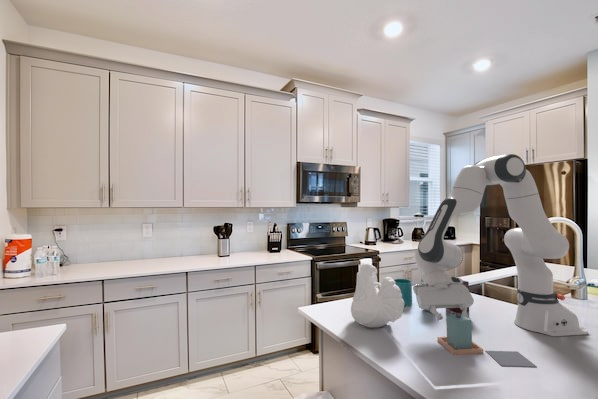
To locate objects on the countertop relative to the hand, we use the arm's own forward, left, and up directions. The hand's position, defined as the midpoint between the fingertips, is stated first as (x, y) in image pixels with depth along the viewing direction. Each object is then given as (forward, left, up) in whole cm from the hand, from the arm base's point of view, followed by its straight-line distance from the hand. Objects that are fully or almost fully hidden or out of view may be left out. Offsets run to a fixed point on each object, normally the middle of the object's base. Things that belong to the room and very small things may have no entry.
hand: (453, 318), depth 104 cm
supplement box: (-13, -27, -9) cm, 31 cm away
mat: (-13, +10, -9) cm, 19 cm away
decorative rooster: (+25, -13, -9) cm, 29 cm away
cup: (+8, -42, -9) cm, 44 cm away
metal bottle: (-3, -33, -9) cm, 34 cm away
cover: (-1, +3, -8) cm, 9 cm away
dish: (-1, +3, -9) cm, 9 cm away
